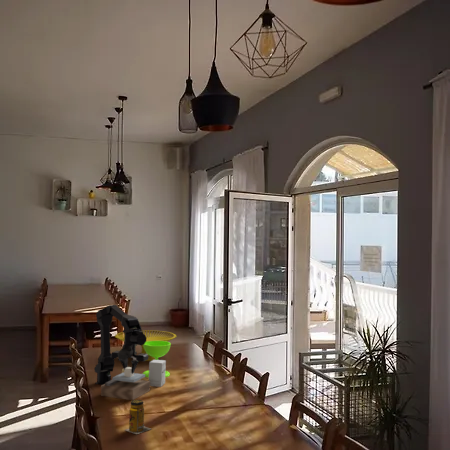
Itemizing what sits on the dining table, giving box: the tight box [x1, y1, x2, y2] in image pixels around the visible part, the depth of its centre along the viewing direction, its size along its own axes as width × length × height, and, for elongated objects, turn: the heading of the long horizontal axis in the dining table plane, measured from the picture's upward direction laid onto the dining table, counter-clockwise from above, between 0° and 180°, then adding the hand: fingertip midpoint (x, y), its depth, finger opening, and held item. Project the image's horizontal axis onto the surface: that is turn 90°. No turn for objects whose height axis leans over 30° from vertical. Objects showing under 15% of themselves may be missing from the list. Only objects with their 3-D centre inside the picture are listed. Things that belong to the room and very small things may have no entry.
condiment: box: [125, 399, 152, 435], centre depth 230 cm, size 7×8×12 cm
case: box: [100, 379, 151, 401], centre depth 282 cm, size 18×18×6 cm
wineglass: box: [142, 341, 172, 379], centre depth 321 cm, size 16×16×18 cm
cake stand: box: [114, 329, 177, 362], centre depth 361 cm, size 40×40×15 cm
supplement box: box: [148, 359, 167, 388], centre depth 300 cm, size 7×7×13 cm
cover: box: [111, 366, 146, 382], centre depth 282 cm, size 12×12×5 cm
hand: (129, 373), depth 282 cm, fingers closed on cover, 3 cm apart
